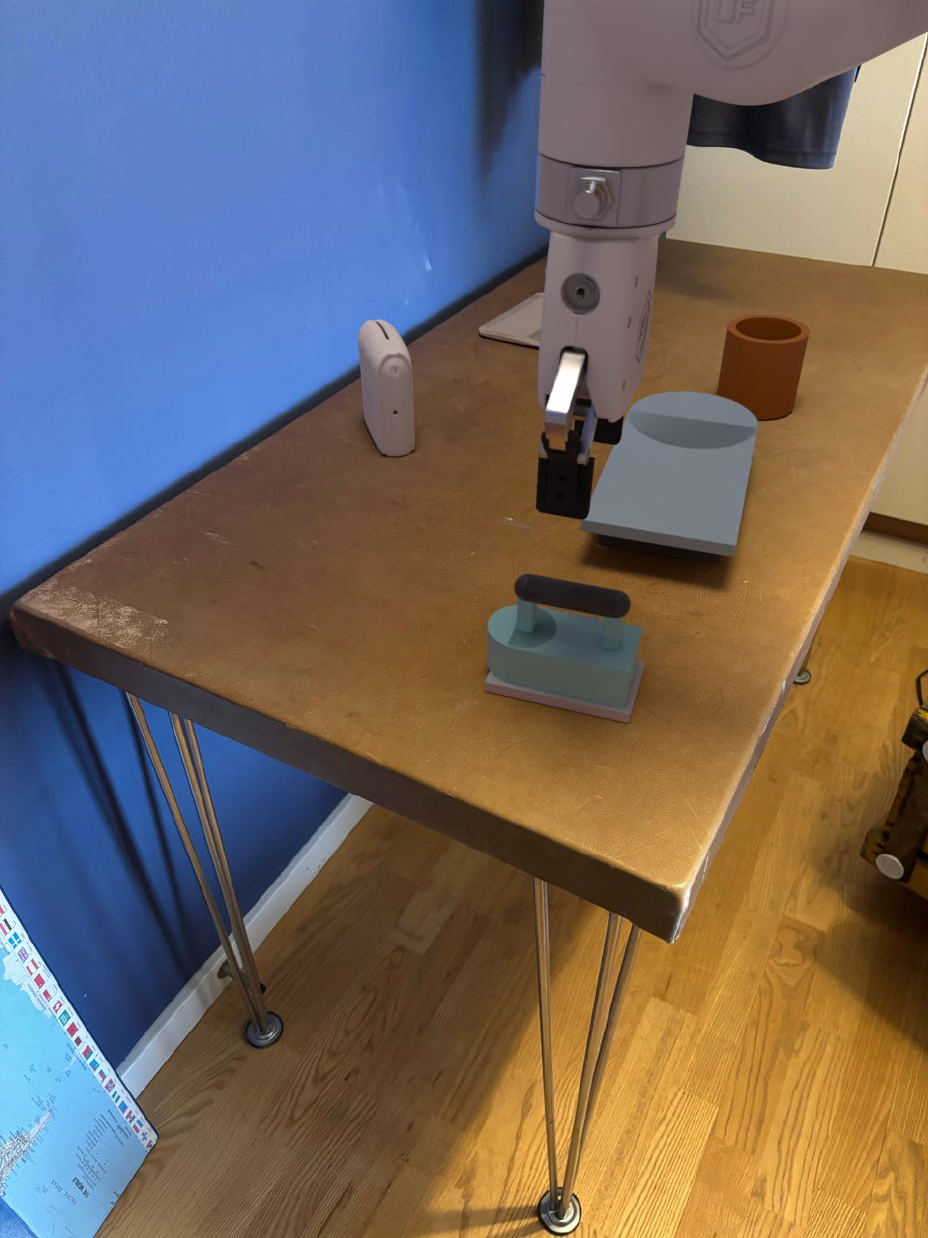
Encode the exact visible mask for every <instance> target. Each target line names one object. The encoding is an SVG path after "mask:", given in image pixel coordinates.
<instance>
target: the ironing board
mask: <svg viewBox="0 0 928 1238" xmlns="http://www.w3.org/2000/svg"><path fill="white" fill-rule="evenodd" d="M758 430H759V422H758V419H756V417H755V416H754V415H753V413H752V412H750V411H749V410H748V409H747V408H745V407H744V406H742V405H740V404H738V403H736V402H734V401H732V400H729V399H726V398H723V397H720V396H717V394H716V395H715V394H711V393H706V392H700V391H686V390H685V391H684V390H683V391H682V390H681V391H667V392H660V393H655V394H650V395H648V396H646V397H645V396H644V397H643V398H641V399H639V400H637V401H636V402H634V403H633V404H632V405H631V406H630V408H629V410H628V412H627V414H626V417H625V418H624V420H623V428H622V436H621V440H620V442H619V444H617V445H612V449H611V451H610V453H609V455H608V458H607V460H606V463H605V465H604V467H603V469H602V472H601V474H600V476H599V477H598V478H599V479H598V480H597V483H596V485H595V487H594V490H593V491H592V493H591V502H590V511H589V514H588V516H587V518H586V519H584V520H581V521H580V531H581V532H586V533H591V534H596V535H598V544H601V545H606V546H612V547H618V548H624V549H629V550H635V551H640V552H646V553H652V554H658V555H664V556H668V557H675V558H681V559H686V560H691V561H699V562H703V563H709V564H715V565H720V564H721V561H722V556H723V557H724V556H725V557H732V558H734V557H735V554H736V549H737V545H738V539H739V534H740V528H741V523H742V517H743V511H744V506H745V501H746V496H747V491H748V484H749V479H750V474H751V470H752V469H751V468H752V465H753V464H752V462H753V457H754V452H755V447H756V441H757V436H758Z"/></svg>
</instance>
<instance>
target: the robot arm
mask: <svg viewBox="0 0 928 1238" xmlns="http://www.w3.org/2000/svg"><path fill="white" fill-rule="evenodd" d="M542 22H543V23H542V24H543V25H542V44H541V64H540V65H541V66H540V85H539V86H540V88H539V89H540V90H539V91H540V92H539V109H538V110H539V113H538V133H537V134H538V137H537V152H536V154H537V155H536V173H535V195H534V211H533V212H534V213H533V214H534V215H533V218H534V220H535V222H536V223H537V224H538V225H539V226H541V227H543V228H545V229H547V230H549V231H550V235H549V241H548V242H549V243H548V251H547V259H546V267H545V271H544V275H545V279H544V289H543V292H544V298H543V309H542V321H541V333H540V347H538V348H539V349H538V363H537V364H538V369H537V403H538V405H539V406H540V408H541V409H542V410H543V411H544V416H543V429H542V432H541V435H540V443H539V447H538V449H539V450H538V451H539V452H538V460H537V475H536V476H537V479H536V493H535V494H536V495H535V496H536V497H535V509H536V510H537V511H538V512H539V513H541V514H546V515H552V516H557V517H562V518H569V519H574V520H579V521H580V520H584V519H586V518H587V516H588V514H589V511H590V502H591V497H592V493H593V491H592V490H593V481H594V473H595V472H594V471H595V462H596V457H593V456H591V451H592V448H593V443H597V444H604V445H611V446H614V445H617V444H619V442H620V440H621V436H622V428H623V423H624V421H625V413H626V412H627V411H628V408H629V406H630V404H631V401H632V399H633V398H634V395H635V393H636V390H637V389H638V386H639V383H640V381H641V379H642V377H643V374H644V371H645V369H646V365H647V362H648V356H649V347H650V335H651V323H652V313H653V302H654V295H655V284H656V275H657V265H658V250H659V235H660V234H663V233H665V232H669V231H670V230H672V229H673V228H674V227H675V225H676V222H677V215H678V209H679V201H680V195H681V187H682V179H683V173H684V167H685V158H686V151H687V150H686V149H687V142H688V135H689V129H690V120H691V114H692V108H693V100H694V96H695V95H697V96H700V97H704V98H707V99H710V100H713V101H716V102H722V103H726V104H730V105H737V106H762V105H769V104H773V103H777V102H780V101H783V100H786V99H789V98H791V97H793V96H796V95H798V94H799V93H803V92H805V91H806V90H809V89H811V88H814V87H815V86H817V85H819V84H820V83H822V82H825V81H827V80H829V79H831V78H834V77H837V76H839V75H842V74H844V73H846V72H849V71H851V70H853V69H856V68H858V67H859V66H862V65H864V64H866V63H867V62H869V61H872V60H874V59H876V58H878V57H879V56H882V55H883V54H886V53H888V52H890V51H892V50H895V48H898V47H901V45H904V44H905V43H908V42H910V41H912V40H914V39H917V38H918V37H920V36H922V35H924V34H926V33H928V0H544V3H543V21H542ZM573 422H574V423H573ZM572 428H573V429H572Z"/></svg>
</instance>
